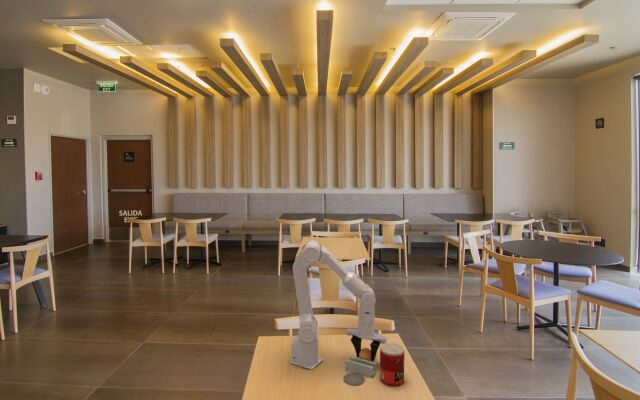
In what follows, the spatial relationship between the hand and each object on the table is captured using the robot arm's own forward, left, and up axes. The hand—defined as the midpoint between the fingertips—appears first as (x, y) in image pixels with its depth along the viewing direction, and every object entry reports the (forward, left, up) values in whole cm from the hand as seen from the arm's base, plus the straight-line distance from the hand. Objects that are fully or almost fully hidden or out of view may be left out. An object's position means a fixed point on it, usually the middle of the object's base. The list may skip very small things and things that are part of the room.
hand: (366, 358), depth 135 cm
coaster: (+1, -11, -2) cm, 12 cm away
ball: (0, 0, -1) cm, 1 cm away
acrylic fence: (+1, -6, -2) cm, 6 cm away
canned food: (+12, -5, -2) cm, 13 cm away
